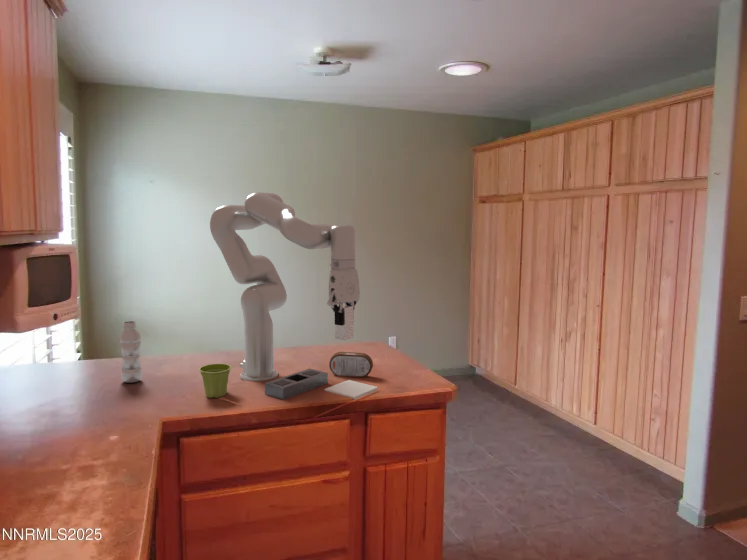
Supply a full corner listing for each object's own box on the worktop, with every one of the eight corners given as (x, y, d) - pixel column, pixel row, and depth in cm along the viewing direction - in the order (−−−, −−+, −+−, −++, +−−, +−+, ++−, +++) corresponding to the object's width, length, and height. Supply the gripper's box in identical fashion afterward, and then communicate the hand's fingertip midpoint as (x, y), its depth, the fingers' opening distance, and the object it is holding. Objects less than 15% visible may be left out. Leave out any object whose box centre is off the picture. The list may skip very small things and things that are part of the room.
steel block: (335, 338, 167) (334, 306, 166) (343, 336, 171) (343, 305, 169) (345, 340, 165) (344, 307, 164) (353, 337, 168) (352, 306, 167)
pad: (324, 391, 169) (324, 388, 169) (348, 382, 178) (348, 379, 178) (354, 400, 162) (354, 396, 162) (377, 390, 171) (377, 387, 171)
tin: (372, 376, 186) (373, 352, 185) (371, 378, 183) (372, 354, 182) (330, 374, 188) (330, 350, 187) (328, 376, 185) (328, 353, 184)
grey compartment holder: (264, 395, 165) (264, 382, 164) (309, 380, 181) (309, 368, 180) (283, 401, 160) (283, 387, 160) (327, 384, 176) (327, 372, 176)
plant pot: (211, 402, 158) (210, 374, 157) (193, 395, 164) (193, 367, 163) (237, 394, 165) (237, 367, 164) (220, 388, 171) (219, 361, 170)
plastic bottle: (134, 377, 181) (131, 319, 178) (147, 381, 177) (144, 321, 175) (116, 382, 175) (113, 322, 173) (129, 386, 172) (126, 325, 170)
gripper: (334, 267, 156) (335, 329, 158) (369, 263, 170) (370, 320, 172) (315, 266, 161) (316, 326, 163) (351, 262, 174) (352, 318, 176)
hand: (344, 323), depth 167 cm, fingers closed on steel block, 4 cm apart
